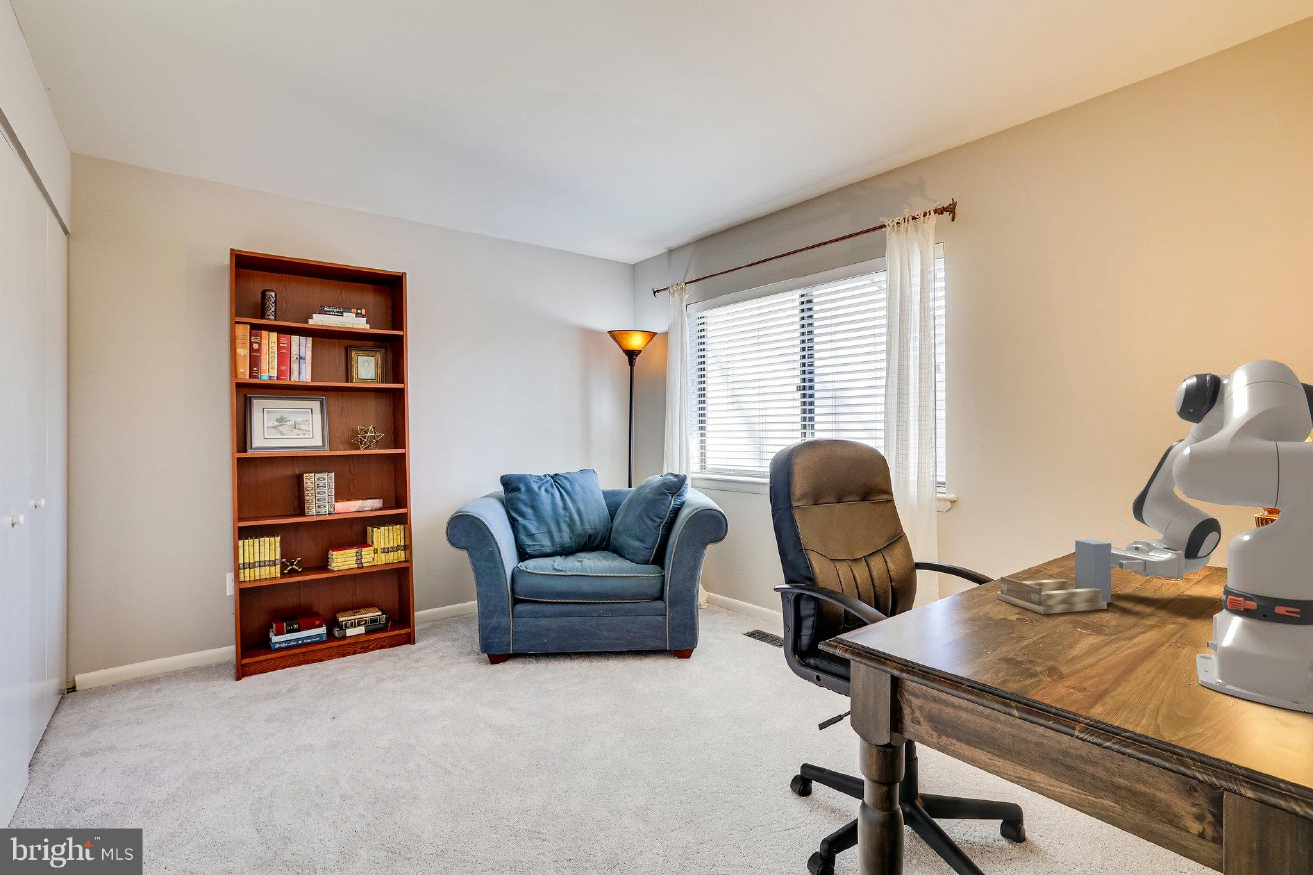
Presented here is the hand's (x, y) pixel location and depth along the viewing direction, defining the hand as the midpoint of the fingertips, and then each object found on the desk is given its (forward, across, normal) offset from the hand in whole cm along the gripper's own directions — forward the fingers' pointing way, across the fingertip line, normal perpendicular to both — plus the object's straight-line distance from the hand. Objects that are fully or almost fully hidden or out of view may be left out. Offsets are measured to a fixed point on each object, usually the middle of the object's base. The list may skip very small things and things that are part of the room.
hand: (1102, 560), depth 149 cm
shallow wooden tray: (+16, 0, +9) cm, 18 cm away
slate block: (+3, 0, +9) cm, 10 cm away
